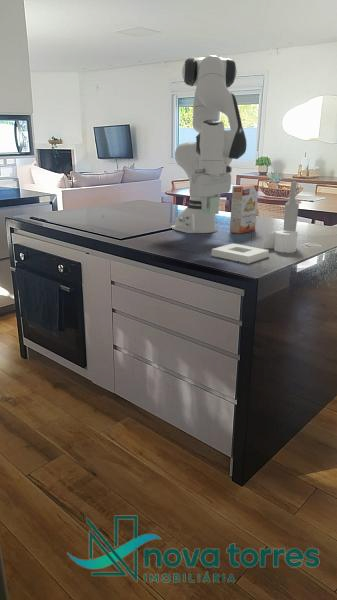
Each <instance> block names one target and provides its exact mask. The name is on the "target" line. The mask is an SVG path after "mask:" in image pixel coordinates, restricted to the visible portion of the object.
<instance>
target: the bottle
mask: <svg viewBox="0 0 337 600" xmlns="http://www.w3.org/2000/svg"><path fill="white" fill-rule="evenodd" d="M290 182H291V184H290V192H289V193H290V194H289V199H288V201H287V202H285V205H284V216H283V217H284V218H283V229H282V230H287V231H295V232H297V223H298V215H299V208H300V207H299V205H300V204H299V202H297V200H296V195H297V194H296V193H297V192H296V191H297V185H298V181H290Z"/></svg>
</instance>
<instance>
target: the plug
mask: <svg viewBox="0 0 337 600" xmlns="http://www.w3.org/2000/svg"><path fill="white" fill-rule="evenodd" d="M206 202H207V203H208V208H206V209H203V208H202V211H201V213H204V214H209V215H213V214H215V215H219V213H220V212H219V208H220V207H219V206H220V199H219V197H215V196H207V199H206Z"/></svg>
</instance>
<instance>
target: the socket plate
mask: <svg viewBox="0 0 337 600" xmlns="http://www.w3.org/2000/svg"><path fill="white" fill-rule="evenodd" d="M269 254H270V250H269V249H263V248H259V247H253V246H249V245H243V244H239V243H229V244H225V245H222V246H219V247H215V248H211V256H212V257H216V258H222V259H225V260H230V261H235V262H238V261H239V262H238V263H243V264H251V263H254V262H257V261H261V260H263V259H266V258H269Z"/></svg>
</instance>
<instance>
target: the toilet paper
mask: <svg viewBox="0 0 337 600" xmlns="http://www.w3.org/2000/svg"><path fill="white" fill-rule="evenodd" d="M298 235H299V234H298V232H297V231H296V232H295V231H287V230H283V229H282V230H276V231H271V232H268V233H266V234H265V239H264V243H263V248H262V249H265V250H268V249H273V250H274V251H275V252H277V253H278V252H279V253H284V252H286V253H290V254H291V253H295V252H297V245H298V244H297V243H298ZM286 253H285V254H286Z"/></svg>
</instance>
